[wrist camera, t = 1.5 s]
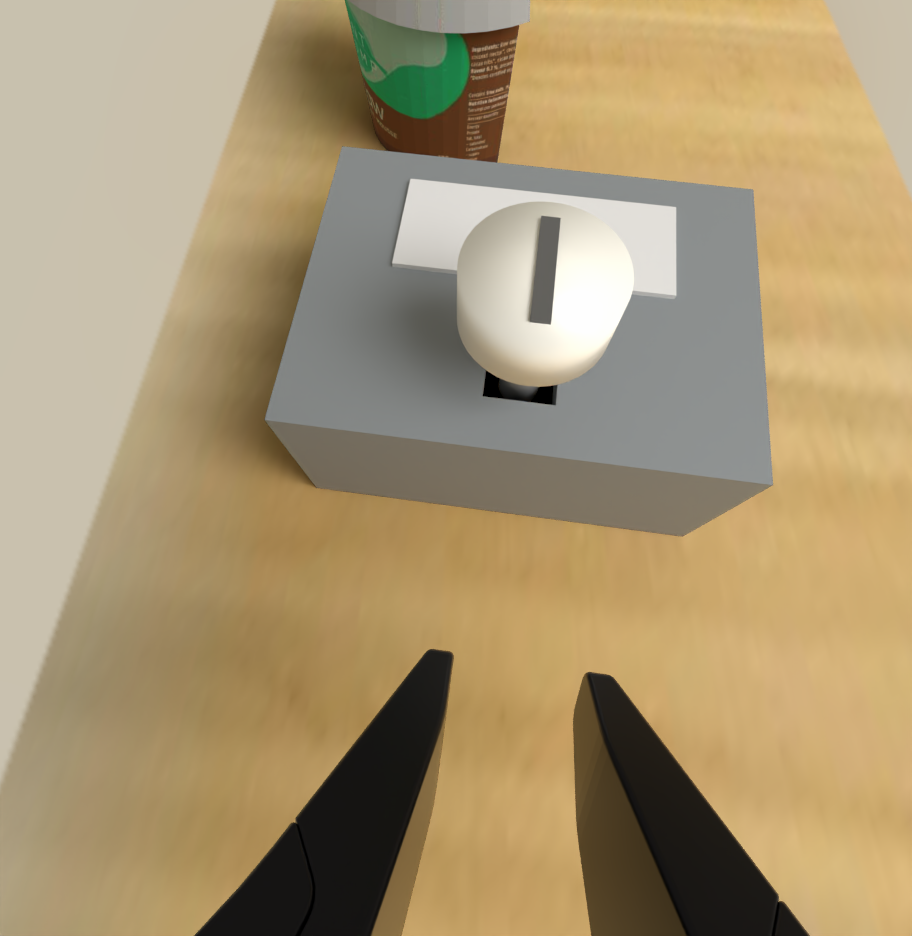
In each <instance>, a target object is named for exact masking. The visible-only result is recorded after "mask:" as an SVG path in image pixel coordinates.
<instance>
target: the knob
mask: <svg viewBox="0 0 912 936" xmlns="http://www.w3.org/2000/svg"><path fill="white" fill-rule="evenodd" d="M633 285H634V269H633V265H632V260H631V258H630V255H629V252H628V250H627V248H626V247H625V245H624V243H623V242H622V240H621V239H620V238H619V236H618V235H617V234H616V233H615V232H614V231H613V230H612V229H611V228H610V227H609V226H608V225H607V224H605V223H604V222H603V221H602V220H600V219H598V218H597V217H595V216H594V215H592V214H590V213H588V212H586V211H584V210H581V209H579V208H576V207H573V206H569V205H566V204H561V203H555V202H542V201H539V202H526V203H519V204H516V205H512V206H508V207H506V208H503V209H500V210H498V211H496V212H494V213H492V214H491V215H489V216H488V217H486V218H485V219H483V220H482V221H481V222H480V223H479V224H477V225H476V226H475V227H474V228H473V230H472V231H471V232H470V233H469V235H468V236H467V238H466V239H465V241H464V243H463V245H462V247H461V250H460V253H459V257H458V264H457V327H458V331H459V335H460V338H461V340H462V343H463V345H464V346H465V348H466V350H467V351H468V353H469V354H470V355H471V357H472V358H473V359H474V360H475V361H476V362H477V363H478V364H479V365H480V366H481V367H483V368H484V369H485V370H487V371H488V372H489V373H491V374H493V375H495V376H496V377H498V378H500V379H499V391H500V393H501V395H502V396H503V397H504V398H505V399H508V400H516V401H525V402H529V401H531V400H532V399H533V398H534V397H535V396H536V394H537V392H538V389H539V387H542V386H552V385H558V384H562V383H565V382H568V381H571V380H573V379H575V378H578V377H579V376H581V375H583V374H584V373H586V372H587V371H588V370H590V369H591V368H592V367H593V366H594V365H595V364H596V363H597V362H598V361H599V360H600V358H601V357H602V355H603V354H604V352H605V351H606V348H607V346H608V344H609V342H610V340H611V338H612V336H613V334H614V332H615V330H616V328H617V325H618V323H619V321H620V319H621V317H622V315H623V313H624V311H625V309H626V307H627V305H628V302H629V300H630V298H631V295H632V291H633Z"/></svg>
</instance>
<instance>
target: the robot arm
mask: <svg viewBox="0 0 912 936" xmlns="http://www.w3.org/2000/svg"><path fill="white" fill-rule="evenodd" d="M453 659H454V655H453V653H452V652H449V651H442V650H435V649H430V650H428V651H427V652H426V653H425V654H424V655H423V656H422V658H421V659H420V660H419V662H418V663H417V664H416V665H415V667H414V668H413V669H412V670H411V672H410V673H409V674H408V676H407V677H406V678H405V679H404V681H403V682H402V683H401V684H400V686H399V687H398V688H397V690H396V691H395V692H394V693H393V695H392V696H391V697H390V698H389V700H388V701H387V702H386V704H385V705H384V706H383V707H382V709H381V710H380V711H379V712H378V714H377V715H376V716H375V718H374V719H373V720H372V721H371V723H370V724H369V725H368V726H367V728H366V729H365V730H364V732H363V733H362V734H361V735H360V737H359V738H358V739H357V740H356V742H355V743H354V744H353V745H352V747H351V748H350V749H349V751H348V752H347V753H346V754H345V756H344V757H343V758H342V759H341V761H340V762H339V763H338V765H337V766H336V767H335V768H334V770H333V771H332V772H331V773H330V775H329V776H328V777H327V779H326V780H325V781H324V782H323V784H322V785H321V786H320V787H319V789H318V790H317V791H316V793H315V794H314V795H313V796H312V798H311V799H310V800H309V801H308V803H307V804H306V805H305V807H304V808H303V809H302V810H301V812H300V813H299V814H298V815H297V817H296V823H294V822H293V823H291V824H290V825H289V826H288V828H287V829H286V830H285V832H284V833H283V834H282V835H281V837H280V838H279V839H278V840H277V842H276V843H275V844H274V846H273V847H272V848H271V849H270V851H269V852H268V853H267V854H266V855H265V857H264V858H263V859H262V860H261V861H260V863H259V864H258V865H257V866H256V867H255V869H254V870H253V871H252V872H251V873H250V875H249V876H248V877H247V878H246V879H245V881H244V882H243V883H242V884H241V885H240V887H239V888H238V889H237V890H236V891H235V892H234V893H233V894H232V895H231V896H230V897H229V899H228V900H227V901H226V902H225V903H224V904H223V905H222V906H221V907H220V908H219V909H218V910H217V912H216V913H215V914H214V915H213V916H212V917H211V918H210V919H209V920H208V921H207V922H206V924H205V925H204V926H203V927H202V928H201V929H200V930H199V931H198V932H197V933H196V934H195V935H194V936H401V935H402V931H403V927H404V923H405V919H406V915H407V911H408V907H409V903H410V899H411V895H412V891H413V887H414V883H415V879H416V875H417V871H418V867H419V863H420V859H421V855H422V851H423V847H424V843H425V839H426V835H427V831H428V827H429V823H430V819H431V814H432V810H433V805H434V800H435V794H436V788H437V780H438V773H439V765H440V758H441V750H442V743H443V735H444V728H445V720H446V712H447V705H448V697H449V690H450V682H451V674H452V667H453ZM573 734H574V767H575V799H576V822H577V833H578V842H579V850H580V857H581V864H582V871H583V879H584V886H585V893H586V900H587V908H588V915H589V922H590V929H591V936H810V935H809V934H808V933H807V931H806V930H805V929H804V928H803V926H802V925H801V924H800V922H799V921H798V920H797V918H796V917H795V916H794V914H793V913H792V912H791V910H790V909H789V908H788V906H787V905H786V904H785V903H784V902H783V901H779V896H778V894H777V892H776V891H775V890H774V888H773V887H772V886H771V884H770V883H769V882H768V880H767V879H766V878H765V876H764V875H763V874H762V873H761V871H760V870H759V869H758V867H757V866H756V865H755V863H754V862H753V861H752V859H751V858H750V857H749V855H748V854H747V853H746V851H745V850H744V849H743V847H742V846H741V845H740V843H739V842H738V841H737V840H736V838H735V837H734V836H733V834H732V833H731V832H730V830H729V829H728V828H727V826H726V825H725V824H724V822H723V821H722V820H721V818H720V817H719V816H718V814H717V813H716V812H715V811H714V809H713V808H712V807H711V805H710V804H709V803H708V801H707V800H706V799H705V797H704V796H703V795H702V793H701V792H700V791H699V789H698V788H697V787H696V785H695V784H694V783H693V781H692V780H691V779H690V778H689V776H688V775H687V774H686V772H685V771H684V770H683V768H682V767H681V766H680V764H679V763H678V762H677V760H676V759H675V758H674V756H673V755H672V754H671V752H670V751H669V750H668V749H667V747H666V746H665V745H664V743H663V742H662V741H661V739H660V738H659V737H658V735H657V734H656V733H655V731H654V730H653V729H652V727H651V726H650V725H649V723H648V722H647V721H646V719H645V718H644V717H643V716H642V714H641V713H640V712H639V710H638V709H637V708H636V706H635V705H634V704H633V702H632V701H631V700H630V698H629V697H628V696H627V694H626V693H625V692H624V690H623V689H622V688H621V687H620V685H619V684H618V683H617V681H616V680H615V679H614V678H613V677H612V676H610V675H606V674H600V673H593V672H588V673H586V674H585V675H584V677H583V679H582V683H581V687H580V690H579V694H578V698H577V702H576V705H575V709H574V717H573ZM778 901H779V902H778Z"/></svg>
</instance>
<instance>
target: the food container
mask: <svg viewBox="0 0 912 936" xmlns="http://www.w3.org/2000/svg"><path fill="white" fill-rule="evenodd" d="M345 3H346V7H347V11H348V16H349V20H350V25H351V29H352V33H353V38H354V42H355V46H356V51H357V55H358V60H359V64H360V68H361V73H362V77H363V81H364V86H365V90H366V94H367V99H368V103H369V108H370V112H371V116H372V121H373V124H374V128H375V132H376V135H377V137H378V139H379V140H380V142H381V143H382V145H383V146H384V147H385V148H386V149H387V150H388V151H391V152H400V153H410V154H419V155H429V156H438V157H448V158H457V159H467V160H476V161H486V162H495V163H497V161H498V155H499V148H500V142H501V136H502V130H503V123H504V117H505V111H506V105H507V98H508V92H509V86H510V80H511V73H512V67H513V61H514V55H515V48H516V42H517V36H518V30H519V25H520V24H523V23H526V22H529V21H530V0H345Z"/></svg>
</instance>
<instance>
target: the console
mask: <svg viewBox="0 0 912 936" xmlns="http://www.w3.org/2000/svg"><path fill="white" fill-rule="evenodd" d="M539 201H542V202H555V203H561V204H566V205H569V206H573V207H576V208H579V209H581V210H584V211H586V212H588V213H590V214H592V215H594V216H595V217H597V218H598V219H600V220H602V221H603V222H604V223H605V224H607V225H608V226H609V227H610V228H611V229H612V230H613V231H614V232H615V233H616V234H617V235H618V236H619V238H620V239H621V240H622V242H623V243H624V245H625V247H626V248H627V250H628V252H629V255H630V258H631V260H632V265H633V269H634V285H633V291H632V295H631V298H630V300H629V302H628V305H627V307H626V309H625V311H624V313H623V315H622V317H621V319H620V321H619V323H618V325H617V328H616V330H615V332H614V334H613V336H612V338H611V340H610V342H609V344H608V346H607V348H606V351H605V352H604V354H603V355H602V357H601V358H600V360H599V361H598V362H597V363H596V364H595V365H594V366H593V367H592V368H591V369H590V370H588V371H587V372H586V373H584V374H583V375H581V376H579V377H578V378H575V379H573V380H571V381H568V382H565V383H562V384H558V385H554V387H553V399H552V405H549V404H541V403H533V402H525V401H516V400H508V399H500V398H492V397H484V396H483V391H484V383H485V376H486V370H485V369H484V368H483V367H481V366H480V365H479V364H478V363H477V362H476V361H475V360H474V359H473V358H472V357H471V355H470V354H469V353H468V351H467V350H466V348H465V346H464V345H463V343H462V340H461V338H460V335H459V331H458V327H457V264H458V257H459V253H460V250H461V247H462V245H463V243H464V241H465V239H466V238H467V236H468V235H469V233H470V232H471V231H472V230H473V228H474V227H475V226H476V225H477V224H479V223H480V222H481V221H482V220H483V219H485V218H486V217H488V216H489V215H491V214H492V213H494V212H496V211H498V210H500V209H503V208H506V207H508V206H512V205H516V204H519V203H526V202H539ZM265 421H266V423H267V424H268V425H269V427H270V428H271V429H272V430H273V432H274V433H275V434H276V436H277V437H278V438H279V440H280V441H281V442H282V443H283V445H284V446H285V447H286V449H287V450H288V451H289V453H290V454H291V455H292V456H293V458H294V459H295V460H296V462H297V463H298V464H299V466H300V467H301V468H302V470H303V471H304V472H305V473H306V475H307V476H308V477H309V479H310V480H311V481H312V483H313V484H314V485H315V486H316V488H323V489H330V490H338V491H345V492H353V493H360V494H368V495H375V496H383V497H390V498H398V499H405V500H413V501H420V502H428V503H435V504H443V505H450V506H458V507H465V508H473V509H480V510H488V511H495V512H503V513H510V514H518V515H525V516H533V517H540V518H548V519H555V520H563V521H571V522H578V523H586V524H593V525H601V526H608V527H616V528H623V529H631V530H638V531H646V532H653V533H661V534H668V535H676V536H684V535H686V534H688V533H690V532H691V531H693V530H695V529H697V528H698V527H700V526H702V525H704V524H705V523H707V522H709V521H711V520H712V519H714V518H716V517H718V516H720V515H721V514H723V513H725V512H727V511H728V510H730V509H732V508H734V507H735V506H737V505H739V504H741V503H742V502H744V501H746V500H748V499H749V498H751V497H753V496H755V495H756V494H758V493H760V492H762V491H763V490H765V489H767V488H769V487H770V486H772V485H773V478H772V463H771V449H770V434H769V419H768V404H767V389H766V374H765V359H764V344H763V329H762V314H761V299H760V284H759V269H758V254H757V239H756V224H755V209H754V194H753V190H752V189H742V188H733V187H723V186H714V185H704V184H695V183H685V182H676V181H666V180H657V179H647V178H638V177H628V176H619V175H609V174H600V173H590V172H581V171H571V170H562V169H552V168H543V167H533V166H524V165H514V164H505V163H495V162H486V161H476V160H467V159H457V158H448V157H438V156H429V155H419V154H410V153H400V152H391V151H381V150H372V149H362V148H353V147H343V146H342V149H341V152H340V156H339V159H338V163H337V166H336V170H335V173H334V177H333V181H332V184H331V188H330V191H329V195H328V198H327V202H326V205H325V209H324V212H323V216H322V219H321V223H320V226H319V230H318V233H317V237H316V240H315V244H314V247H313V251H312V254H311V258H310V261H309V265H308V268H307V272H306V275H305V279H304V283H303V286H302V290H301V293H300V297H299V300H298V304H297V307H296V311H295V314H294V318H293V321H292V325H291V328H290V332H289V335H288V339H287V342H286V346H285V349H284V353H283V356H282V360H281V363H280V367H279V370H278V374H277V377H276V381H275V384H274V388H273V392H272V395H271V399H270V402H269V406H268V409H267V413H266V416H265Z"/></svg>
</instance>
